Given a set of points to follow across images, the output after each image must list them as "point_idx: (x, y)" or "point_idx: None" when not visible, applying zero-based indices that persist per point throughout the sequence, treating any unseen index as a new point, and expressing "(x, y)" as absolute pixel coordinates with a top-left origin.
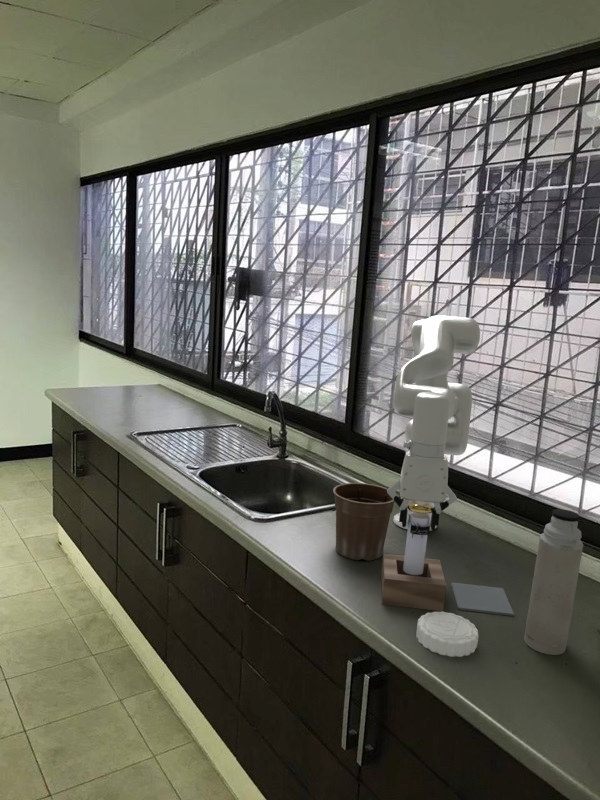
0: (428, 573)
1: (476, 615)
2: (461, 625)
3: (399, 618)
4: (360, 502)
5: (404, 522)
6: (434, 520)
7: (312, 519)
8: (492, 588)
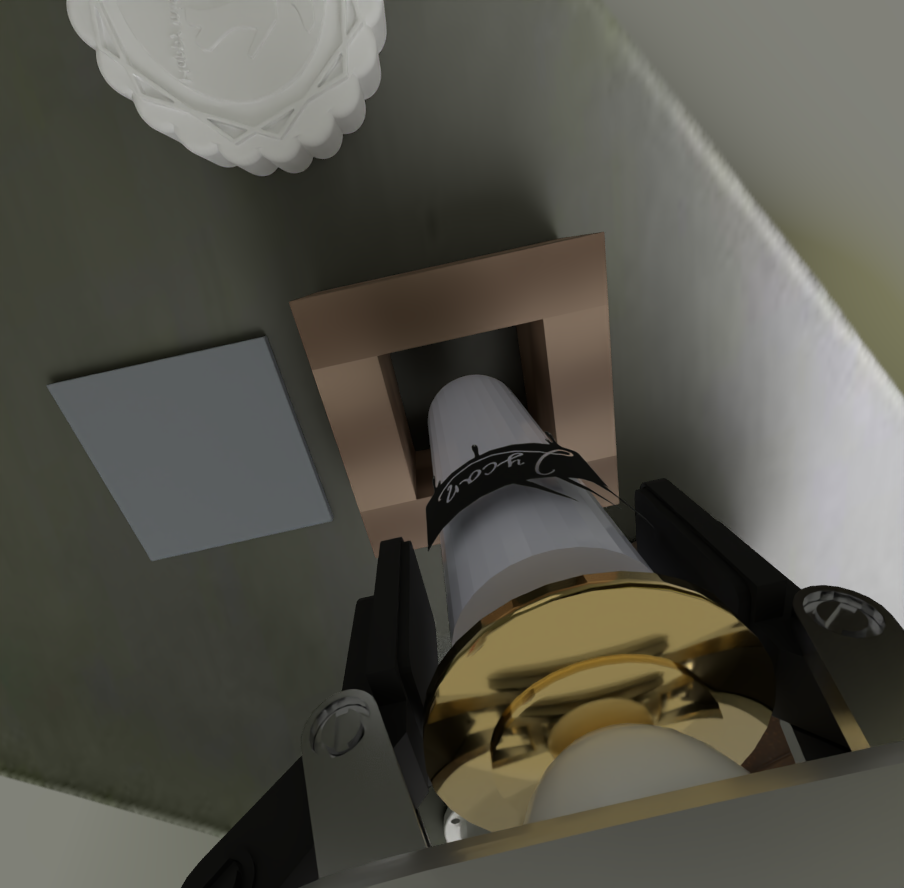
0: (406, 450)
1: (187, 320)
2: (149, 1)
3: (475, 136)
4: None
5: (674, 500)
6: (389, 603)
7: None
8: (185, 542)
